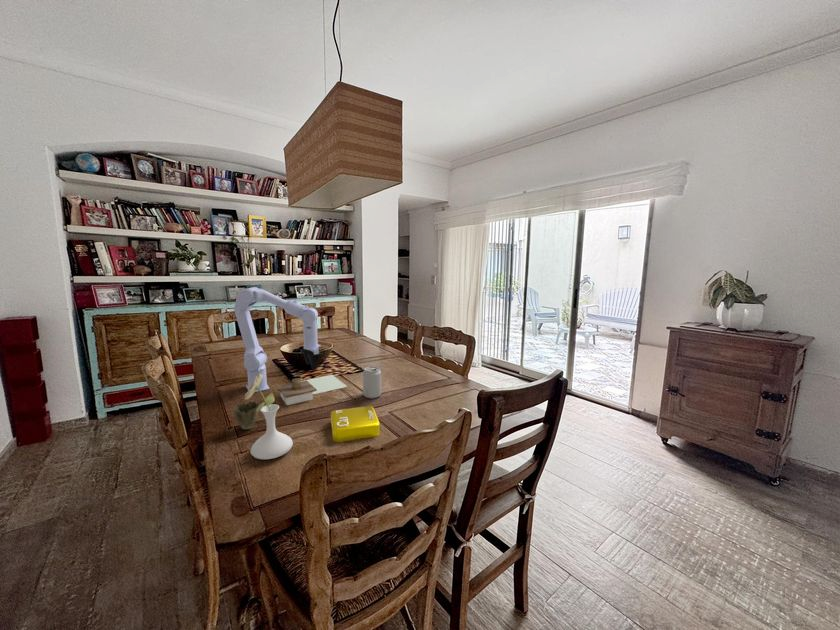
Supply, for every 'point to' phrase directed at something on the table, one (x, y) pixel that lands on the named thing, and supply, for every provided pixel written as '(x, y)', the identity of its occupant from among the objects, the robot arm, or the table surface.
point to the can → (371, 382)
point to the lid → (296, 388)
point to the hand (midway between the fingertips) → (311, 366)
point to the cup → (246, 414)
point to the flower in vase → (268, 428)
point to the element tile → (354, 423)
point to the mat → (326, 383)
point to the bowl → (297, 398)
